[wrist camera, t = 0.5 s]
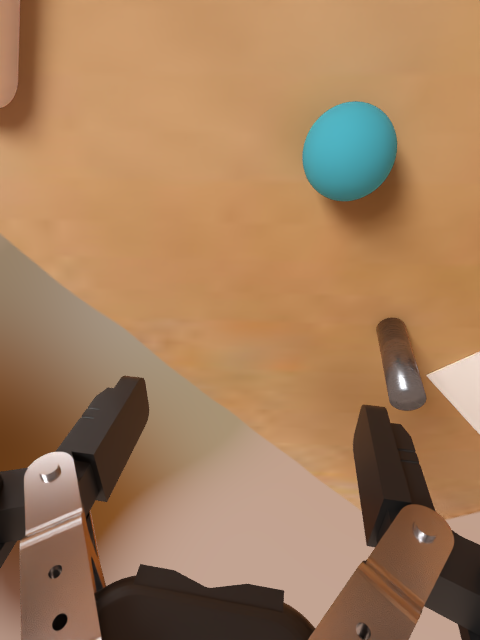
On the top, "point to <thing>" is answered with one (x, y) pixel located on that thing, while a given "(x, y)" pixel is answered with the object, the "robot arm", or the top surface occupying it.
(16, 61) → the computer
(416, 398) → the post
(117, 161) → the top surface
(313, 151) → the ball
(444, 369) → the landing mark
